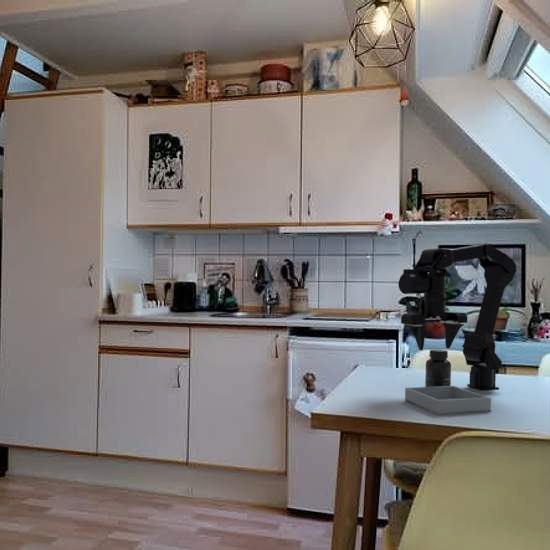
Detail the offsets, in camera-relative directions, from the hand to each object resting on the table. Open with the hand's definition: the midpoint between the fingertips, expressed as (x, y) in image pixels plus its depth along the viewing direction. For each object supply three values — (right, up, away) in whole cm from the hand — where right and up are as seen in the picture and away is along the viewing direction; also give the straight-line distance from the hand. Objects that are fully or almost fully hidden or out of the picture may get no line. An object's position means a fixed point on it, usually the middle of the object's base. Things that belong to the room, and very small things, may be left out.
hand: (434, 349), depth 146 cm
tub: (-2, -12, -16) cm, 20 cm away
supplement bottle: (+1, -13, 0) cm, 13 cm away
